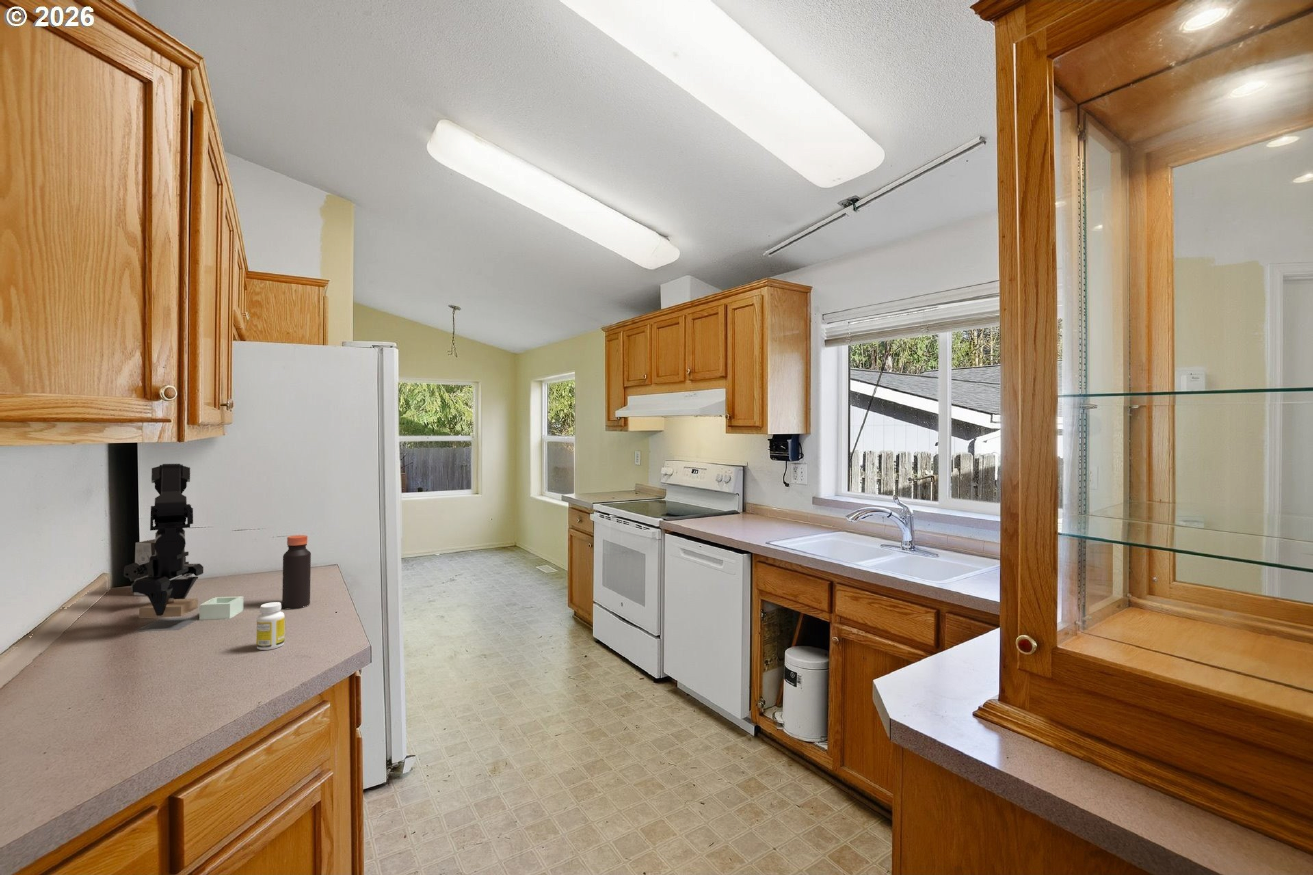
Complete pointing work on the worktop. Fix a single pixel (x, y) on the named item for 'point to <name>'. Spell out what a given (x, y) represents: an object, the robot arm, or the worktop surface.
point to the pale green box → (221, 608)
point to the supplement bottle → (270, 626)
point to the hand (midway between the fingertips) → (169, 610)
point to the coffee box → (144, 554)
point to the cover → (170, 608)
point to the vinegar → (296, 573)
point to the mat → (167, 624)
